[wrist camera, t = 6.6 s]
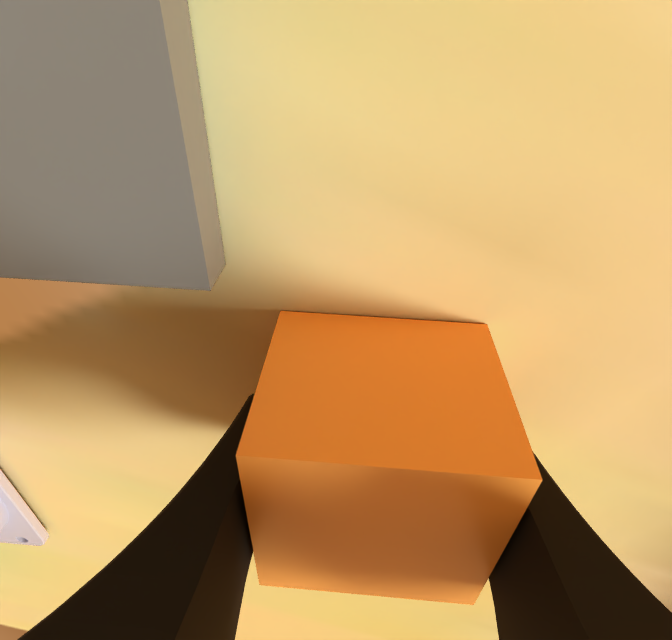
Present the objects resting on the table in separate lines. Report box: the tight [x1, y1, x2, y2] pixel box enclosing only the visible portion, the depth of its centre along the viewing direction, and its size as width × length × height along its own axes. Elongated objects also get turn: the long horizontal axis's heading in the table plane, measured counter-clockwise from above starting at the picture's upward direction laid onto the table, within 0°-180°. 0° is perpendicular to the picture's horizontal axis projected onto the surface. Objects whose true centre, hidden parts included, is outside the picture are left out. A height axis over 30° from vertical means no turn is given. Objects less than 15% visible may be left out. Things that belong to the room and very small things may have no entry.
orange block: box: [236, 311, 542, 605], centre depth 11 cm, size 5×5×4 cm
